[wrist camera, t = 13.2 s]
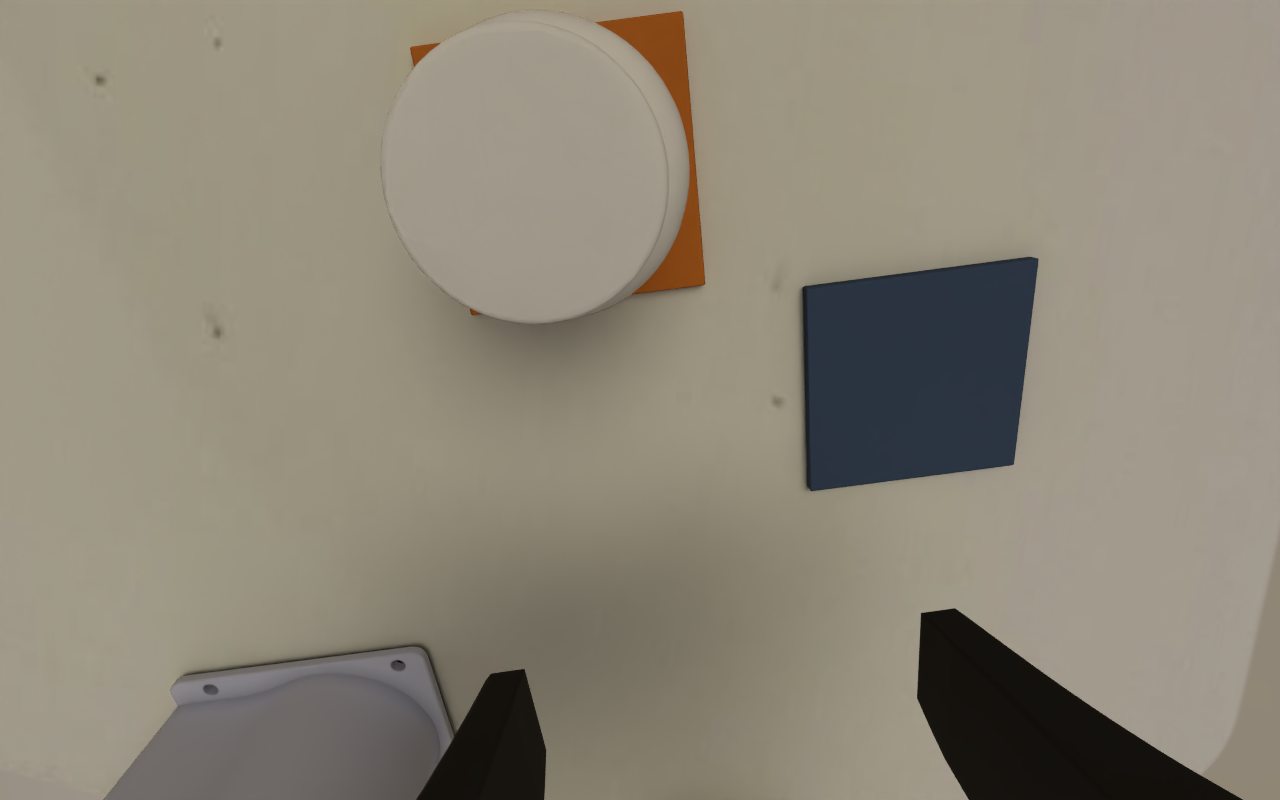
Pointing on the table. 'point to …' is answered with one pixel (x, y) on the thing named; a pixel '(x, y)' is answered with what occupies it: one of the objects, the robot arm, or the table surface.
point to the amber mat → (667, 55)
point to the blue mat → (915, 372)
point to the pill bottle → (535, 167)
